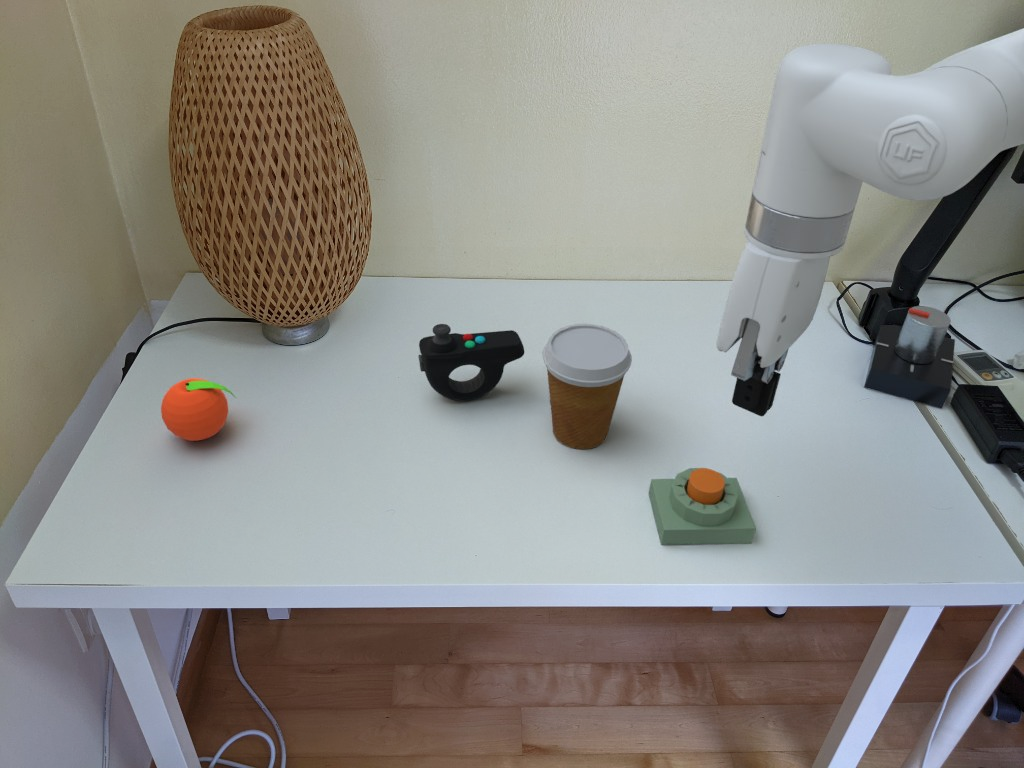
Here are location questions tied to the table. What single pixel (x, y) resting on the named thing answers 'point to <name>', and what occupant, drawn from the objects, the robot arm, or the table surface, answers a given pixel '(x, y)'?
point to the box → (699, 513)
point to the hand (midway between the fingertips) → (751, 405)
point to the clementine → (195, 409)
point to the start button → (705, 486)
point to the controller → (467, 360)
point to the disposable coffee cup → (584, 381)
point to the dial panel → (909, 371)
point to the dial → (922, 334)
